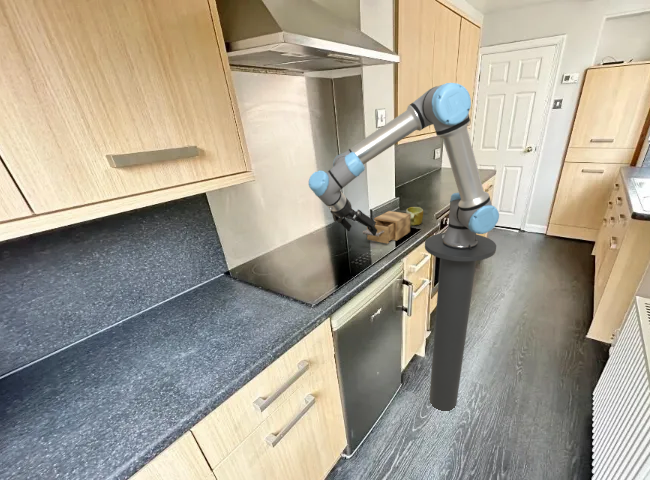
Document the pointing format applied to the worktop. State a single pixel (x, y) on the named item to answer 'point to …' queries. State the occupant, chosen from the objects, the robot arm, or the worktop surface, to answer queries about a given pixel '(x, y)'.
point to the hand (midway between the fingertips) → (362, 230)
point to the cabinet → (397, 222)
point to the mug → (415, 215)
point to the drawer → (382, 232)
